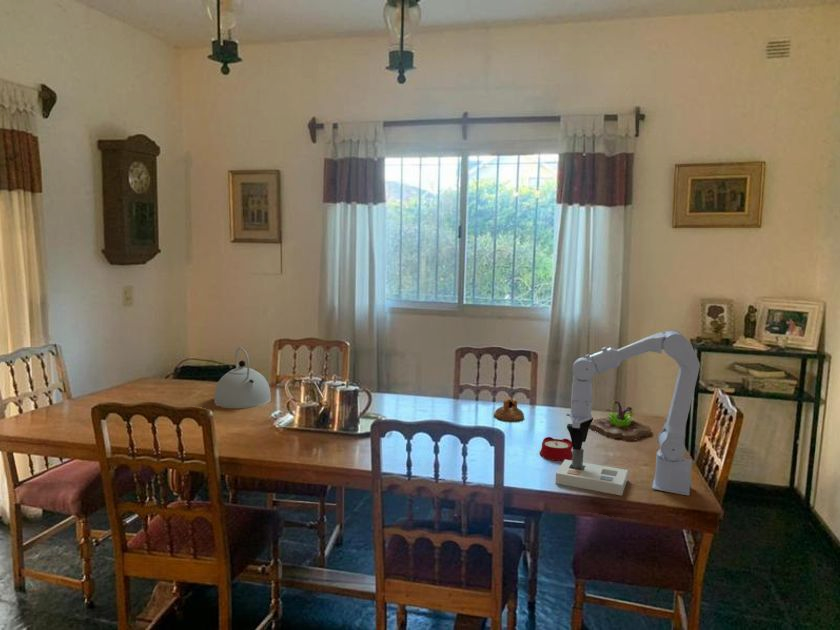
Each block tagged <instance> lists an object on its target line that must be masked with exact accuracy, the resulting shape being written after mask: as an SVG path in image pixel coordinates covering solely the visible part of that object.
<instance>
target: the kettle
mask: <svg viewBox="0 0 840 630" xmlns="http://www.w3.org/2000/svg"><path fill="white" fill-rule="evenodd" d="M240 350H241V351H242V352H243V353H244V356H245V359H246V361H245V360H240V361H239V362H238V355H239V351H240ZM234 362H235V368H234V369H233V368H232V369H231V370H229V371H228V372H227V373H225V374H224V375H222V377H221V378H220V379H219V380H218V382H217V384H216V386H215V389H214V395H213V398H214V401H213V402H214V403H215V404H216V405H215V404H214V403H213V404H214V405H215V406H217V407H219V406H221V407H220V408H225V409H250V408H255V407H260V406H264V405H266V404H268V403H270V402H271V399H272V398H271V397H272V396H271V389H270V385H269V383H268V381H267V379H266V377H265V376H264V375H263V374H262V373H260V372H258V371H257V370H255V369H254V368H251V367H250V359H249V355H248V353H247V351H246V350H245V349H244V348H243V347H241V346H239V347H238V348H237V349H236V351H235V361H234ZM246 364H247V365H246ZM245 366H246V367H245Z"/></svg>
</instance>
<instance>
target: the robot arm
mask: <svg viewBox="0 0 840 630" xmlns="http://www.w3.org/2000/svg"><path fill="white" fill-rule="evenodd" d="M663 351H664V353H665V354H666V355H668V356H669V357H670V358H672V359H673V360H674V361H675V363H676V364H677V365H678V366H679V368H678V373H677V377H676V382H675V386H674V388H673V393H672V397H671V398H672V399H671V402H670V406H669V411H668V415H667V419H666V421H665V422H664V425H663V428H662V430H661V431H660V432H659V433H658V435H657V443H658V445H659V449H658V451H656V458H655V459H656V460H655V469H654V470H655V473H654V475H655V476H654V478H653V481H652V482H653V483H652V486H651V489H652V490H657V491H662V492H667V493H673V494H678V495H684V496H690V491H691V487H692V483H693V482H692V481H693V480H692V479H691V478H692V464H693V460H692V459H689V458H686V457H685V454H686V453H687V451H686V445H685V438H686V425H687V421H688V417H689V413H690V408H691V406H692V401H693V397H694V392H695V388H696V384H697V380H698V375H699V371H700V367H701V364H700V361H699V358H698V356H697V354H696V352H695V349H694V346H693V344H692V343H691V342H690V341H689V340H688V339H687V338H686V337H685V335H684V334H682V333H681V332H680V331H679V330H677V329H667V330H665V331H664V332H661V331H660V332H656V333H655V334H651V335H649V336H646V337H644V338H641V339H640V340H637V341H634V342H632V343H630V344H628V345H625V346H623V347H620V348H618V349H616V348H613V347H608V348H607V346H604V347H602V348H601V350H600V351H597V352H595V353H593V354H589V353H588V354H585V357H579V358H577V359H576V360H575V361H574V362H573V364H572V374H573V375H572V383H571V400H570V411H567V412H566V413H565V414H566V415H565V416H567V417H570V419H571V421H572V423H568V424H566V429H567V431H568V434H569V436H570V441H571V442H572V450H573V449H575V450H581V447H582V446H583V443H585V442H587V437H588V433H589V430H590V429H589V427H590V424H591V422H593V421H594V417H592V404H593V384H592V383H593V380H592V379H593V376H594V375H600V374H602V373H604V372H607V371H610V370H612V369H615V368H618V367H619V366H620V365H621V363H622V361H625V360H628V359H630V358H634V357H636V356H639V355H642V354H643V355H644V354H645V353H649V352H653V353H657V354H662V353H663Z"/></svg>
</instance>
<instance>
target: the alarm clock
mask: <svg viewBox="0 0 840 630" xmlns="http://www.w3.org/2000/svg"><path fill="white" fill-rule="evenodd" d="M539 455H540V456H541V457H543V458H544V459H548V460H552V461H554V462H557V461H559V462H560V461H562V462H563V461H564V460H572V456H573V447H572V441H571V439H568V438H562V439H558V438H554V437H551V436H546V437H544V438H543V439H542V441H541V449H540V450H539Z"/></svg>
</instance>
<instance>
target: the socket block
mask: <svg viewBox="0 0 840 630" xmlns="http://www.w3.org/2000/svg"><path fill="white" fill-rule="evenodd" d="M628 472H629V470H628V469H625V468H624V469H623V468H618V467H612V466H606V465H600V464H594V463H590V462H589V463H587V462H583V469H582V470H576V469H572V459H569V460H563V461H562V463H561V464H560V466H559V467H558V469H557V471H556V472H555V484H558V485H562V486H563V485H564V486H567V487H569V486H570V487H572V488H573V487H574V488H579V489H583V490H584V489H585V490H590V491H595V492H599V493H600V492H601V493H605V494H612V495H617V496H623V494H624V491H625V488H626V485H627V482H628Z"/></svg>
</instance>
